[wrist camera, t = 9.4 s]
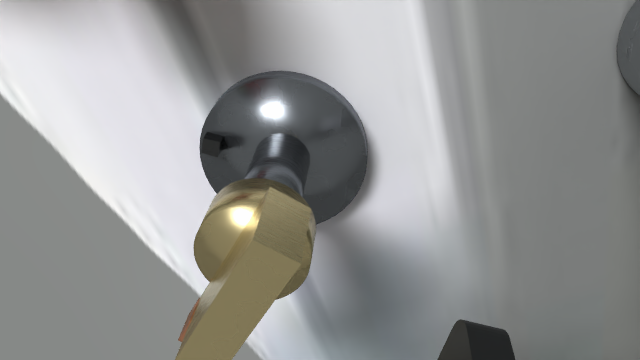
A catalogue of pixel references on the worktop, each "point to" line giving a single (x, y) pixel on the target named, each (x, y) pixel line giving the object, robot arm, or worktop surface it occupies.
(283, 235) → the door handle
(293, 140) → the round metal flange
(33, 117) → the worktop surface
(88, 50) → the worktop surface
